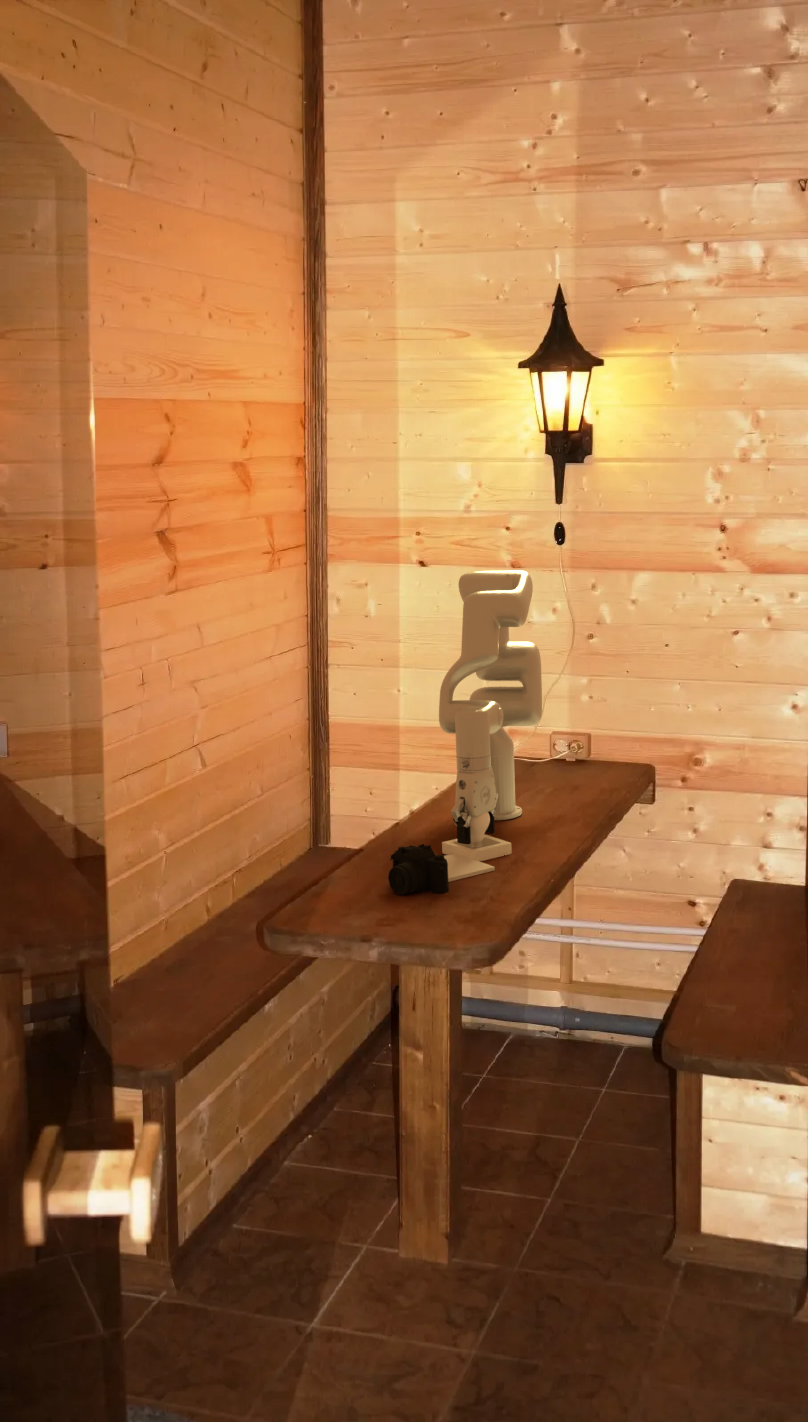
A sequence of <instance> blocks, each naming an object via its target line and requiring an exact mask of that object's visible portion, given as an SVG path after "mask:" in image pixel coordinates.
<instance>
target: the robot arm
mask: <svg viewBox="0 0 808 1422" xmlns="http://www.w3.org/2000/svg"><path fill="white" fill-rule="evenodd" d="M532 580H533V579H532V577H531V575H530V574H529V573H528V572H527V571H525V570H519V569H517V570H516V569H515V570H514V569H513V570H478V571H477V570H476V571H471V572H469V571H468V572H466V573H464V574H462V575H461V576H460V577H459V580H458V591H459V594H460V597H461V600H462V602H463V605H462V625H461V626H462V628H461V630H462V631H461V633H462V634H461V651H460V652H461V653H460V656H459V658H458V659H457V661H455V663H453V664H452V666H451V667H450V668H449V670H447V672H446V674H445V676H444V677H443V679H442V681H441V685H440V689H439V701H438V702H439V705H438V723H439V726H440V728H441V730H442V731H443V732H445V733H447V734H451V735H455V750H456V751H455V753H456V754H455V755H456V758H455V759H456V770H457V772H456V781H455V804H454V806H453V807H452V808H451V810H450V813H451V815H452V820H453V822H454V825H455V826H456V839H457V842H458V843H461V844H468V845H469V844H471V832H470V826H468V825H469V822H470V820H471V817H478V816H480V815H482V814H484V813H487V812H488V813H489V816H490V823H489V826H488V828H487V829H486V831H485V833H484V834H492V835H493V834H495V832H496V830H495V829H496V828H495V825H496V824H495V821H505V820H511V819H516V818H518V817H520V816H522V813H523V809H522V807H520V806H518V805H517V804H516V782H515V781H516V780H515V779H516V777H515V774H516V773H515V749H514V748H515V747H514V746H515V745H514V742H513V738H511V736H510V734H509V733H508V732H507V731H506V730H505V729H504V727H531V726H536V725H538V724H539V723H540V721H541V720H542V715H543V691H542V690H543V685H542V683H543V682H542V681H543V679H542V658H541V651H540V649H539V648H538V646H537V645H536V643H534V642H531V641H523V640H522V641H520V640H519V641H511V640H510V632H509V631H510V629H509V628H518V627H522V626H524V625H525V623H526V621H527V618H528V615H529V611H530V606H531V601H532V596H533V592H534V591H533V588H534V586H533V581H532ZM474 673H475V674H476V676H477V678H478V679H479V680H481V681H485V682H486V681H488V682H520V683H521V684H522V686H483V687H480V688H477V689H476V690H474V691H473V692H472V693H471V694H470V697H469V700H468V699H466V700H465V699H464V700H459V699H458V700H453V699H454V698H453V697H454V692H455V690H456V687H457V686H458V685H459V684H460V683H461V682H462V681H463V680H464V679H466V678H467V677H468V676H471V675H472V674H474ZM464 811H465V812H464ZM466 812H468V813H466ZM462 817H466V819H465V820H464V819H463V818H462Z"/></svg>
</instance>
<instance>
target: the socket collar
mask: <svg viewBox="0 0 808 1422" xmlns="http://www.w3.org/2000/svg"><path fill="white" fill-rule="evenodd" d="M482 841H483V842H482V846H483V847H482V848H478V849H471V844H469V845H468V844H461V843H458V842H457V838H454V839H450V840H445V841H441V846H442V847H441V850H442V854H444V855H446V856H447V855H451V854H456V855H459V856H462V857H465V858H468V859H471V860H473V859H474V860H477V861H479V862H484V861H487V860H491V859H496V858H500V857H504V855H505V856H508V855H511V854H513V852H512V842H509V841H507V840H504V839H501V838H497V837H494V836H492V835H488V834H486V833H484V838H483V840H482Z"/></svg>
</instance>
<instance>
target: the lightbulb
mask: <svg viewBox="0 0 808 1422" xmlns="http://www.w3.org/2000/svg"><path fill="white" fill-rule="evenodd" d="M464 812H465V811H464ZM466 813H468V812H466ZM462 818H463V819H464V820H465V819H466V817H462ZM489 823H490V816H489V813H488V812H487V813H484V814H482V815H480V816H478V817H471V820H470V822H469V825H468V826H470V832H471V849H478V848H482V847H483V846H482V842H483V841H482V840H483V838H484V834H486V833H485V831H486V829H487V828H488V826H489Z"/></svg>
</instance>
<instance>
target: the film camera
mask: <svg viewBox="0 0 808 1422" xmlns="http://www.w3.org/2000/svg"><path fill="white" fill-rule="evenodd" d="M444 856H445V855H443V854H438V855H436V853H435V852H434V850H433V849H432V846H431V844H429V845H426V844H425V843H422V844H419V845H418V846H417V845H412V844H410V845H408V846H399V847H398V848H397V850H395V851H394V853H393V854H391V855H390V861H392V867H391V869H390V870H389V871H388V876H387V877H388V883H389V887H390V888H391V890H392V891H393V892H394V893H395V894H397V895H408V894H411V893H415V892H418V891H419V893H420V892H424V891H425V892H429V893H432V894H437V895H441V894H445V893H448V892H449V889H450V888H449V882H448V863H447V860H446V859H445V858H444Z"/></svg>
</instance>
